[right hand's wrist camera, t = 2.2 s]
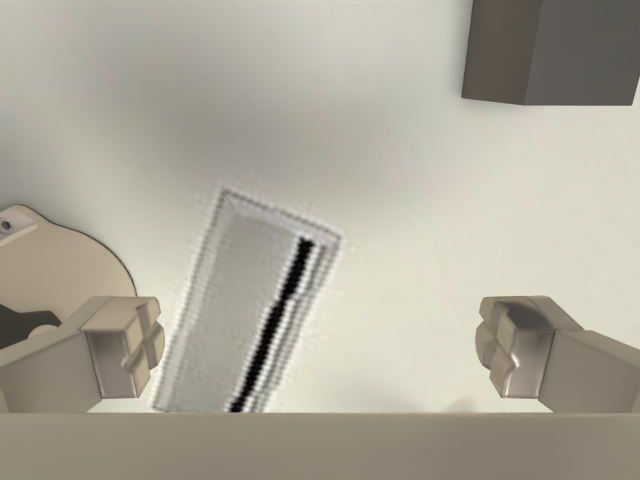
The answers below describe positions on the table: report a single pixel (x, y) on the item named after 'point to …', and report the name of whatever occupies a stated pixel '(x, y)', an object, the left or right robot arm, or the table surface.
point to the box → (554, 52)
